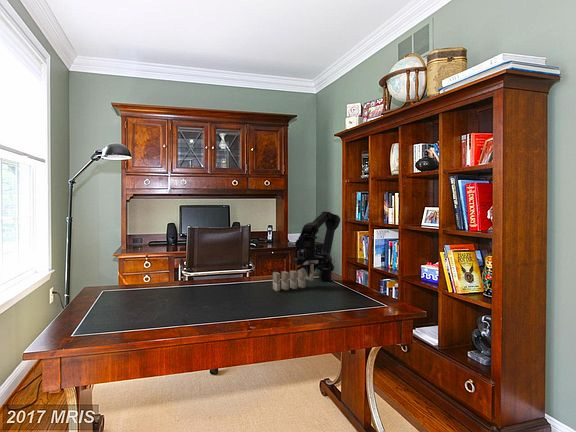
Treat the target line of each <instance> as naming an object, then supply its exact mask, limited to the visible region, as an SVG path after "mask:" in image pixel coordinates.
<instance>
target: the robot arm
mask: <svg viewBox="0 0 576 432" xmlns="http://www.w3.org/2000/svg"><path fill="white" fill-rule="evenodd" d="M340 222H341V217H340V216H339V215H338V214H334V213H332V212H330V211H321V213H320V214H319V215H318V216H317V217H316V218H314V219H313V221H311V222H308V223H307V222H306V224H304V225H303V227H302V229H301V232H300V235H299V236H298V238H297V239H296V241H295V244H294V245H295V248H296V249H297V250H298V251H297V252H296V258H295V257H294V258H293V260H292V264H293V265H295V266H296V265H297V266H302V267H303V268H304V271H306V274H307V276H309V271H310V265H309V264H308V263H312V264H314V273H315V272H316V270H318V271H319V272H318V278H317V279H318V281H319V282H323V283H327V282H333V281H334V280H333V279H332V274H333V271H335V265H334V264H333V261H332V256H331V251H332V247H333V246H332V245H333V241H334V236H335V232H336V230H337V229H338V228H339V226H340ZM324 224H325V228H326V230H325V234H324V235H325V236H324V239H323V245H322V250H321V252H320V253H318V254H317V256H316V253H317V252H318V251H317V249H316V240H317V239H318V237H317V236H316V235H317V234H318V233H319V231H320V230H319V229H320V227H321V226H322V225H324ZM301 250H303V251H301Z"/></svg>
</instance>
